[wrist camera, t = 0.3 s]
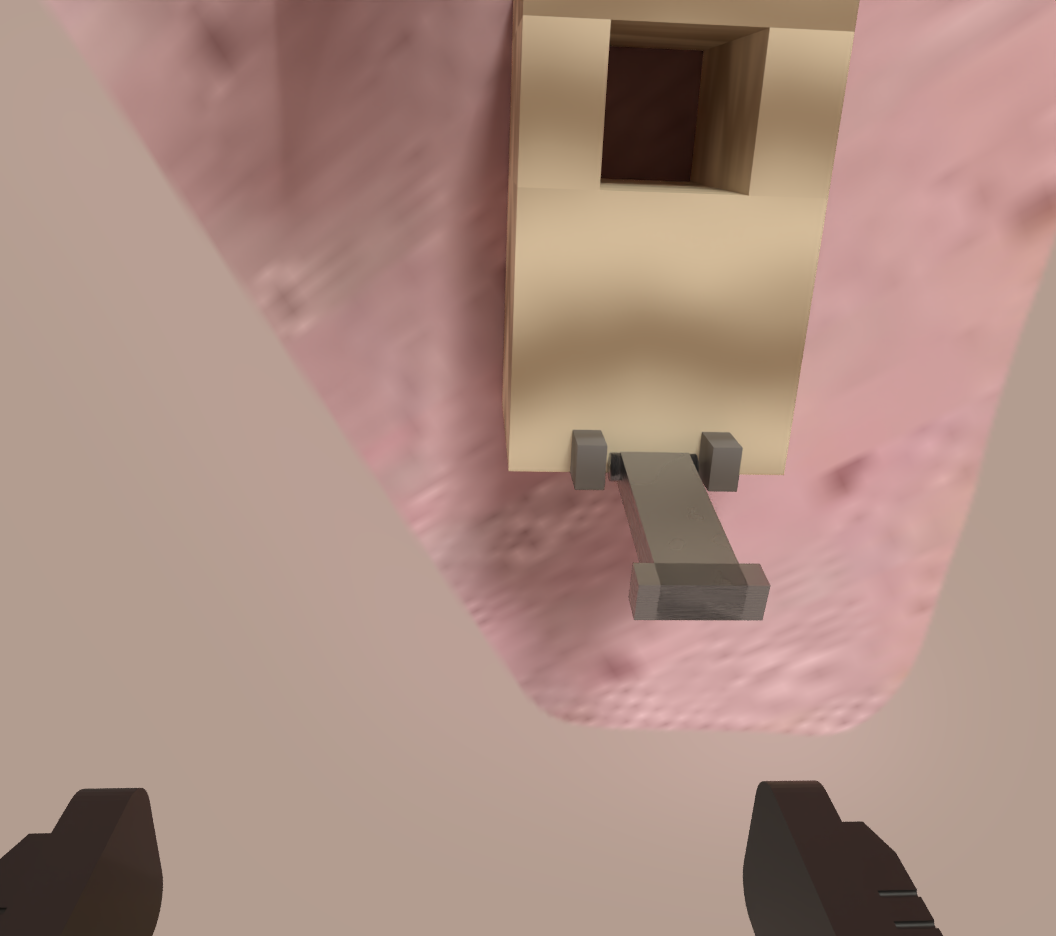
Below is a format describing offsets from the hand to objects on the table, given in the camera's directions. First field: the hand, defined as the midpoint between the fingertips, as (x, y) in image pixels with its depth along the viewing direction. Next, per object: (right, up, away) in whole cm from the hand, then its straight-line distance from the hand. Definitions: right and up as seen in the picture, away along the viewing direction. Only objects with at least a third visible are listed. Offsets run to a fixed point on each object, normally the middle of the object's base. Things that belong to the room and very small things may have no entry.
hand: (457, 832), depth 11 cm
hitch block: (+5, +15, +24) cm, 29 cm away
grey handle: (+6, +4, +15) cm, 17 cm away
